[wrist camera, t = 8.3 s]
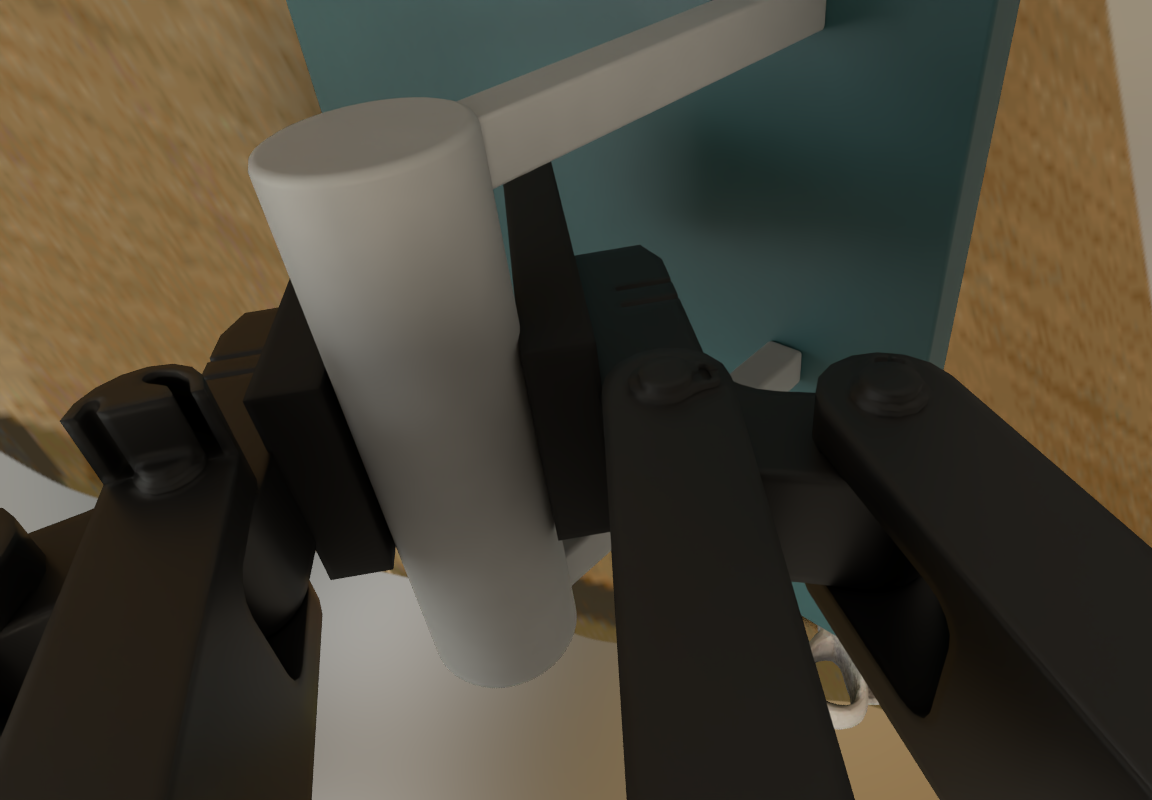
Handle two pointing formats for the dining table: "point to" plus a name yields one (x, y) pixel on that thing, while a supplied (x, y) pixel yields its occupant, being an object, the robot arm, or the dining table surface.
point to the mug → (860, 693)
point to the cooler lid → (609, 234)
